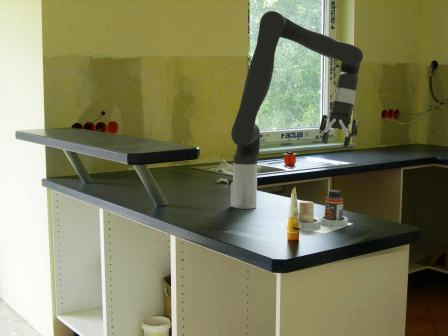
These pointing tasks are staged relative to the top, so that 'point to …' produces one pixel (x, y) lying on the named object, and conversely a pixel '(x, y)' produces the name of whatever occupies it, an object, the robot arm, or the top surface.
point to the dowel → (306, 211)
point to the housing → (324, 224)
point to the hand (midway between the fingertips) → (335, 145)
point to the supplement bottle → (334, 205)
